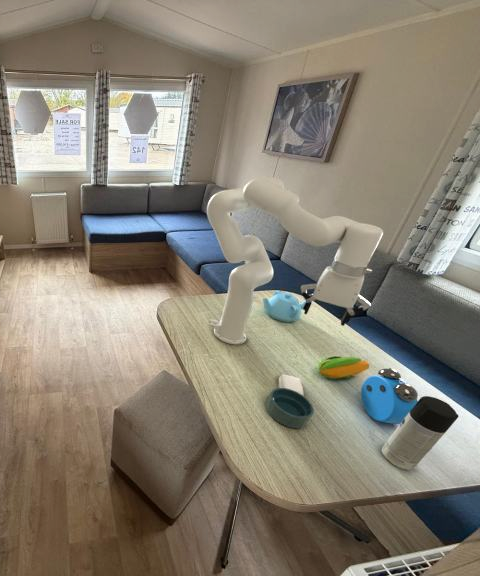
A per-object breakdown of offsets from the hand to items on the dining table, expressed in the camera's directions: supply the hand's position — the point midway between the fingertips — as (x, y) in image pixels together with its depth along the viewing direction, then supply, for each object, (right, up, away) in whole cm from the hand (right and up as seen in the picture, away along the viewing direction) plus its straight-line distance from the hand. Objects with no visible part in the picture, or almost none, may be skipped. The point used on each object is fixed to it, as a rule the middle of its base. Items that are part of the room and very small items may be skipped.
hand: (323, 317), depth 95 cm
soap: (-6, -25, +7) cm, 26 cm away
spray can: (+9, -36, -14) cm, 40 cm away
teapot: (+16, -4, +47) cm, 50 cm away
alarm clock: (+15, -30, -2) cm, 33 cm away
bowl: (-13, -29, -2) cm, 32 cm away
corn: (+16, -22, +14) cm, 30 cm away
